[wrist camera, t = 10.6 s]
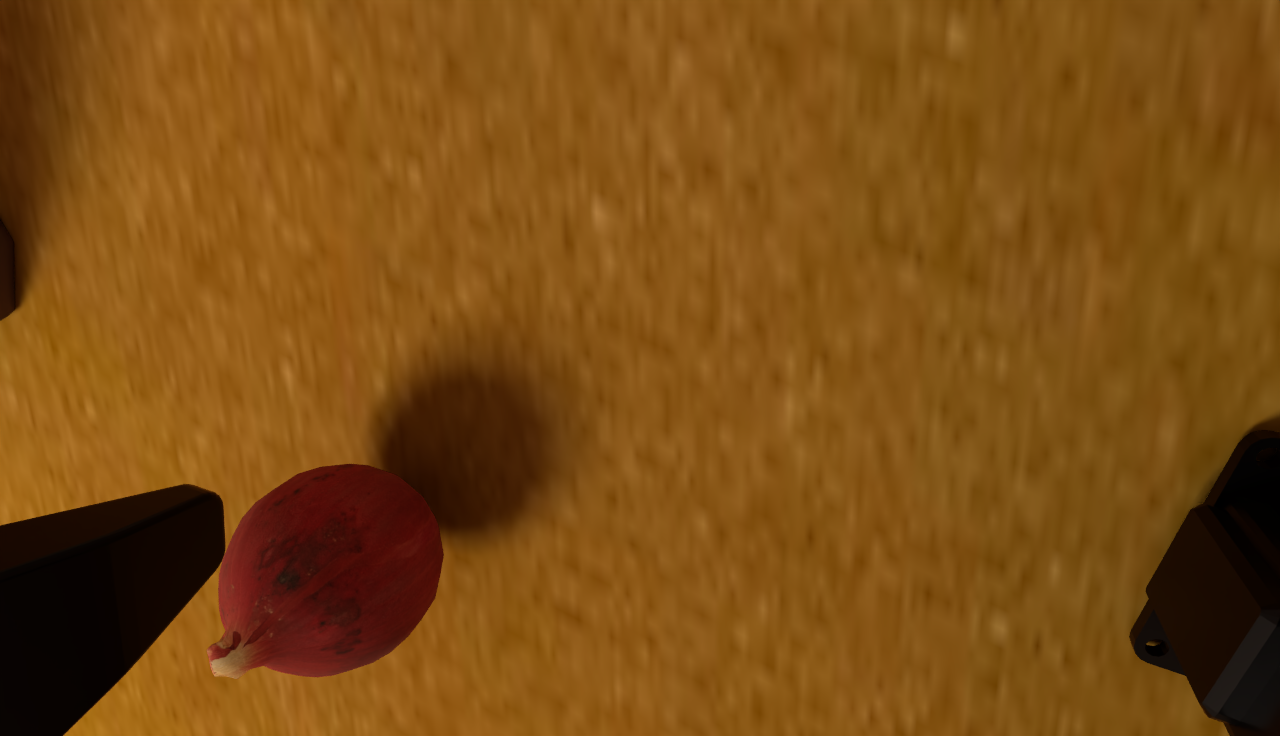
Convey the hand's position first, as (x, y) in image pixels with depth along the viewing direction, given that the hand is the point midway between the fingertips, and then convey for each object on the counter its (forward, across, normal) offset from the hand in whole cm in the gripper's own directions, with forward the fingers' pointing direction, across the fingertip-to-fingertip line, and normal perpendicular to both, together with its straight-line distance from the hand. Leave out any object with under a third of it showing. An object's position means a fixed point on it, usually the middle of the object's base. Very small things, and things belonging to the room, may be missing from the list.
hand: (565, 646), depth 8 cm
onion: (+13, +9, +10) cm, 19 cm away
